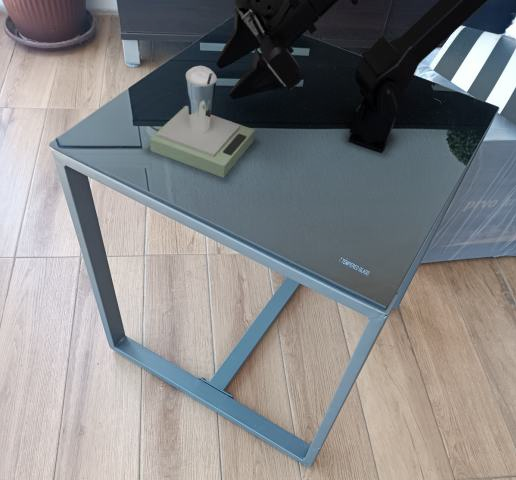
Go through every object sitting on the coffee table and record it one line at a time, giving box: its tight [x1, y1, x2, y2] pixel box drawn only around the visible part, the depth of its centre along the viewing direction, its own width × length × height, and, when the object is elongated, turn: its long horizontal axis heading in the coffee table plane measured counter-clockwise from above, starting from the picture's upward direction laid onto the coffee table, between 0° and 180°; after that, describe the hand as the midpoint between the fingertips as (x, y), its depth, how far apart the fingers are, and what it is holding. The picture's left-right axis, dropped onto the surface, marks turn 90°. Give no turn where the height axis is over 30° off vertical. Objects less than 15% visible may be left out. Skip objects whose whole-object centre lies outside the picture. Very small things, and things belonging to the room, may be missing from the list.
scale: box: [149, 105, 256, 179], centre depth 81 cm, size 13×12×3 cm
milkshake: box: [185, 65, 218, 133], centre depth 76 cm, size 5×5×10 cm
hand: (224, 81), depth 75 cm, fingers open, 9 cm apart
